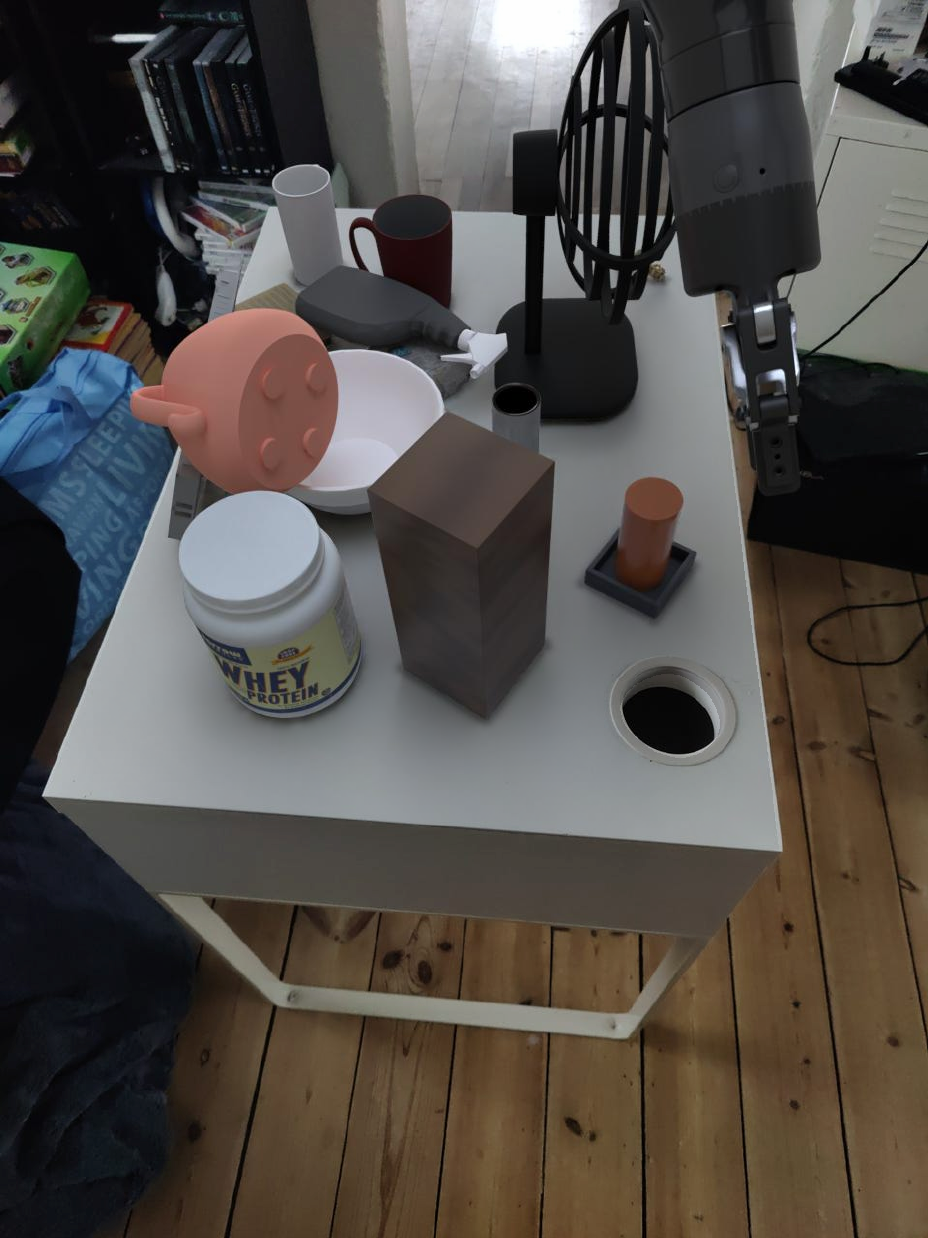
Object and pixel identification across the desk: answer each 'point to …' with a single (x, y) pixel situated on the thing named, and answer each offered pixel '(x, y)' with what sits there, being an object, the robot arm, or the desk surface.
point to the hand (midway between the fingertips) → (774, 479)
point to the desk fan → (589, 234)
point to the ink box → (280, 305)
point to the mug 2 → (412, 243)
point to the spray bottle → (391, 316)
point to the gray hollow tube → (517, 414)
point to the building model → (187, 474)
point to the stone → (431, 362)
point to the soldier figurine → (654, 270)
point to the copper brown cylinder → (647, 532)
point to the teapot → (247, 400)
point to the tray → (643, 601)
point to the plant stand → (466, 558)
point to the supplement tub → (271, 603)
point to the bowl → (369, 427)
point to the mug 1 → (308, 220)
